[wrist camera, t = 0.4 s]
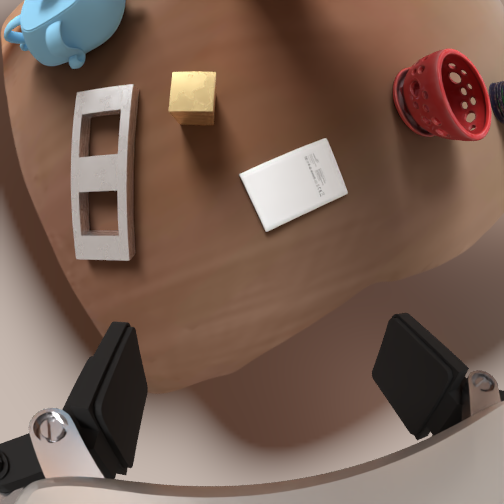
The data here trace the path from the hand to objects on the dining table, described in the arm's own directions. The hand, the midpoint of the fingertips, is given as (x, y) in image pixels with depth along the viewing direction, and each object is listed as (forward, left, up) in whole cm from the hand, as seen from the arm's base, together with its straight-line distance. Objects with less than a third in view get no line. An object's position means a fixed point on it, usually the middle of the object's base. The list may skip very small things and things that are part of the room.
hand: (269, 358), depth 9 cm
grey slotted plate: (-6, -17, -28) cm, 33 cm away
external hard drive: (-5, +8, -29) cm, 30 cm away
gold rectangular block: (-14, -5, -28) cm, 32 cm away
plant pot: (-21, +28, -28) cm, 45 cm away
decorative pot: (-30, -24, -28) cm, 47 cm away
